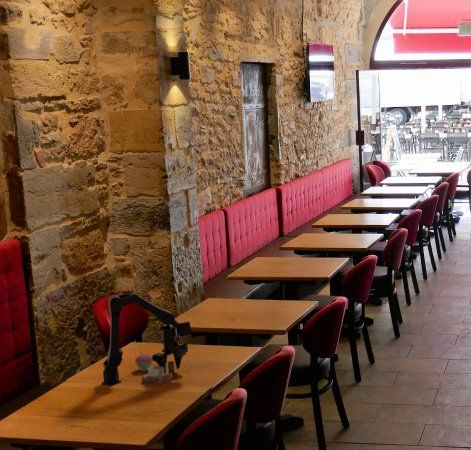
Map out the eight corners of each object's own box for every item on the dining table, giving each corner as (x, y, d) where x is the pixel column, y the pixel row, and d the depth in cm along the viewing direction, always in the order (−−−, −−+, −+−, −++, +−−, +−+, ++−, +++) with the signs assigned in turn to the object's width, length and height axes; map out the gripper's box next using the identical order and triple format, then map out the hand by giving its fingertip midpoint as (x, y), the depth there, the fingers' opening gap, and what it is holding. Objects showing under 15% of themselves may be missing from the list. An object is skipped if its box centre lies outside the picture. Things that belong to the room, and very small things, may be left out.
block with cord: (157, 383, 389) (156, 370, 388) (149, 381, 392) (148, 368, 391) (177, 374, 400) (176, 361, 399) (169, 373, 403) (168, 360, 402)
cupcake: (132, 371, 409) (130, 346, 407) (142, 366, 416) (140, 341, 415) (147, 373, 405) (145, 348, 403) (157, 367, 412) (155, 343, 411)
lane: (157, 385, 386) (157, 379, 386) (142, 382, 392) (141, 376, 391) (172, 378, 394) (172, 373, 394) (157, 375, 400) (157, 370, 399)
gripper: (168, 345, 386) (171, 379, 388) (195, 335, 400) (197, 368, 402) (150, 342, 393) (152, 376, 395) (177, 332, 407) (179, 365, 409)
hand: (171, 371), depth 400 cm, fingers open, 9 cm apart
